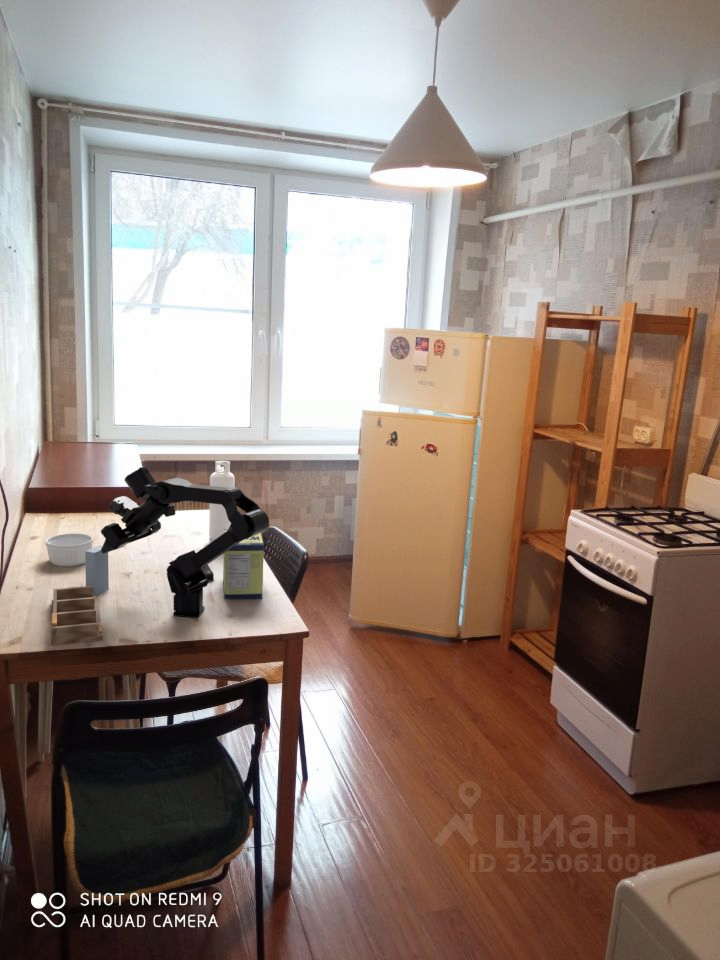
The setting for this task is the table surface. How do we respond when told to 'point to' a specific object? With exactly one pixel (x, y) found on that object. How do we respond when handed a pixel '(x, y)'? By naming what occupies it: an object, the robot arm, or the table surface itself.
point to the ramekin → (68, 548)
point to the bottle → (217, 511)
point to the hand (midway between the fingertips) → (113, 547)
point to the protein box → (244, 569)
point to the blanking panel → (97, 570)
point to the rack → (75, 616)
